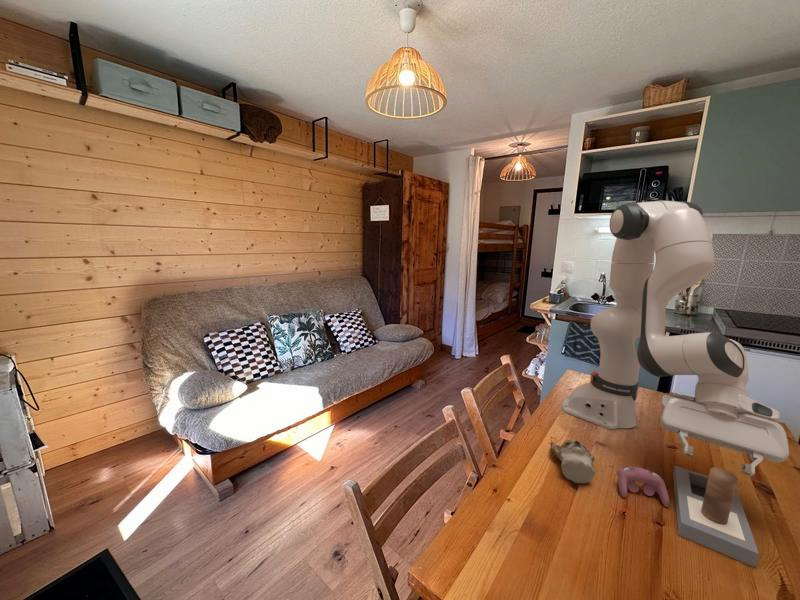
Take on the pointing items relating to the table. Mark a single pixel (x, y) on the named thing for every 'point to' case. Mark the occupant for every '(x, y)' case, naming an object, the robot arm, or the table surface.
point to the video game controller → (651, 480)
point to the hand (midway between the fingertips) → (716, 464)
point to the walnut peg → (719, 495)
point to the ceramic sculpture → (574, 461)
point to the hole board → (699, 529)
